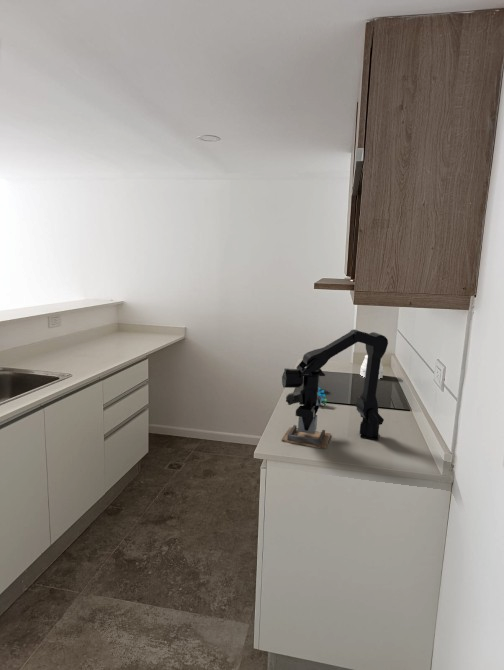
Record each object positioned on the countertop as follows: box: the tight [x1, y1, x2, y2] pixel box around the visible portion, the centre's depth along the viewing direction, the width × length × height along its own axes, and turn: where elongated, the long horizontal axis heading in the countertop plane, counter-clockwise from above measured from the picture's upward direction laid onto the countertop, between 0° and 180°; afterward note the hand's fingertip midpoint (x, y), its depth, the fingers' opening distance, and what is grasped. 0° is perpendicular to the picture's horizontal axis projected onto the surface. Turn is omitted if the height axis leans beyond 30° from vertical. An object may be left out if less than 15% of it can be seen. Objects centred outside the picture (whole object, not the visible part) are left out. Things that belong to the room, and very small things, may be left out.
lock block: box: [297, 414, 318, 434], centre depth 156 cm, size 6×5×6 cm
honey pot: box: [359, 354, 384, 380], centre depth 247 cm, size 13×13×18 cm
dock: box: [281, 424, 332, 450], centre depth 157 cm, size 16×13×2 cm
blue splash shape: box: [317, 386, 328, 406], centre depth 195 cm, size 11×6×10 cm
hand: (307, 427), depth 156 cm, fingers closed on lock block, 5 cm apart
